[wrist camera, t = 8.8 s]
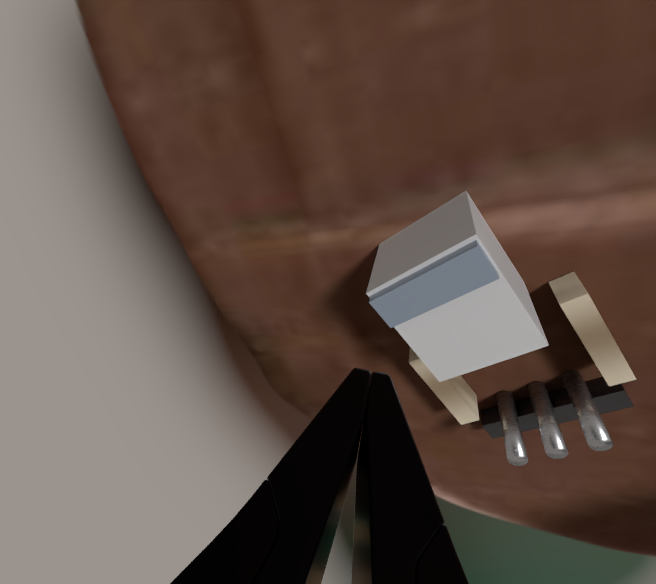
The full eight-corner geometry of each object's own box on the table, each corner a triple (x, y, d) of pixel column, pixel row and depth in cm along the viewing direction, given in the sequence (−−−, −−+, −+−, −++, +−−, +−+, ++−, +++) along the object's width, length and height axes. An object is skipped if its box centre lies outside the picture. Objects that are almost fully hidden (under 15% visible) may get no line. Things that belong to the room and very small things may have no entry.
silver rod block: (624, 389, 21) (665, 461, 17) (490, 423, 25) (500, 487, 21) (607, 360, 20) (645, 428, 16) (471, 399, 24) (478, 461, 20)
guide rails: (619, 352, 20) (636, 379, 18) (459, 400, 24) (461, 424, 23) (574, 271, 18) (588, 293, 16) (410, 340, 23) (408, 362, 21)
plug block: (524, 281, 19) (552, 354, 14) (438, 319, 21) (439, 390, 17) (465, 190, 17) (477, 240, 13) (379, 243, 20) (364, 300, 15)
